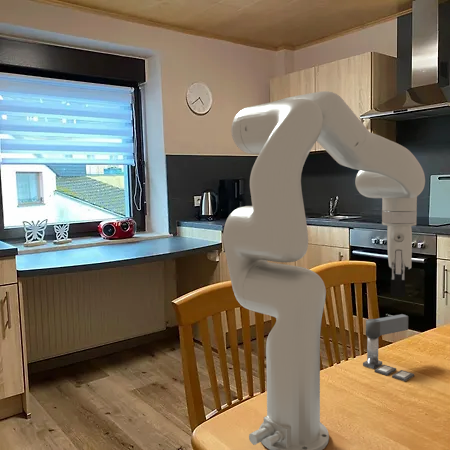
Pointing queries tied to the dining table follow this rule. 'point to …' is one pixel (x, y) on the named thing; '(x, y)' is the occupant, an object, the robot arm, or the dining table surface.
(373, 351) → the bar post
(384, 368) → the label plate
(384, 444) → the dining table surface
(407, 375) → the label plate
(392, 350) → the dining table surface
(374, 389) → the dining table surface
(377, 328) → the swing bar
